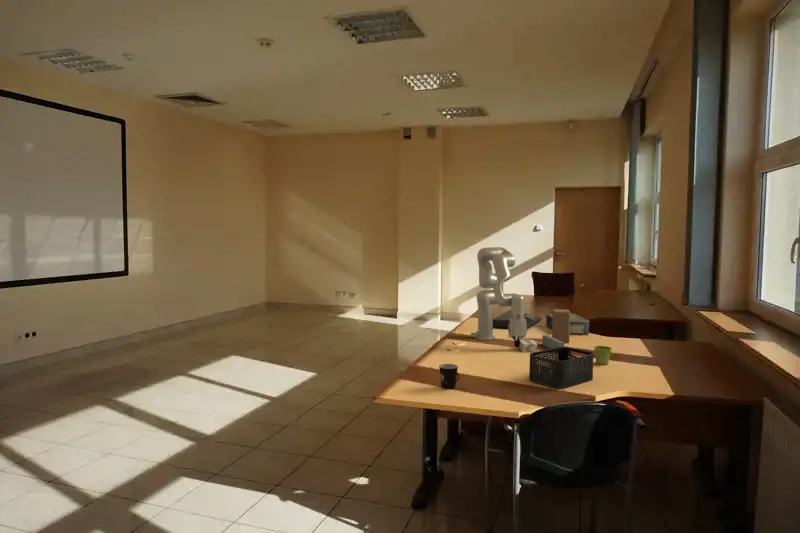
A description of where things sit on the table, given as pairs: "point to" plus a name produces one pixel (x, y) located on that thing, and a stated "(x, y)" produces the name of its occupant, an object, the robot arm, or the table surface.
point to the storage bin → (560, 367)
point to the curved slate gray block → (551, 342)
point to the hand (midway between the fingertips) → (517, 346)
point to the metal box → (572, 324)
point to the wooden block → (561, 325)
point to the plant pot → (602, 354)
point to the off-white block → (528, 346)
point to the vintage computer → (504, 319)
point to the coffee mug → (448, 375)
